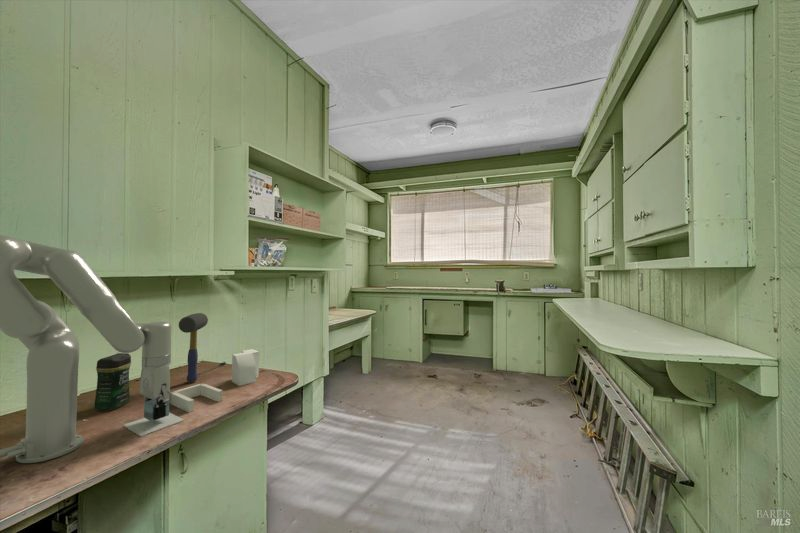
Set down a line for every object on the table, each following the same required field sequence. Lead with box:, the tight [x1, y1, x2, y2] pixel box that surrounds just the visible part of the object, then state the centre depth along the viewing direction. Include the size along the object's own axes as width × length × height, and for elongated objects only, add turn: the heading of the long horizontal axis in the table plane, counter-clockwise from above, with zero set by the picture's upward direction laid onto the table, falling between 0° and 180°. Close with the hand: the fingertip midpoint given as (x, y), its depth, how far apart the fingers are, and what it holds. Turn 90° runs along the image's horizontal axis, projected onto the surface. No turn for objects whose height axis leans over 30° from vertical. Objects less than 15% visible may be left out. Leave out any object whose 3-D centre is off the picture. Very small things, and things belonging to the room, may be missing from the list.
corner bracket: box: [231, 348, 260, 387], centre depth 146 cm, size 11×11×12 cm
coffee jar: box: [93, 352, 132, 412], centre depth 116 cm, size 10×8×19 cm
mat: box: [123, 411, 185, 438], centre depth 104 cm, size 12×12×1 cm
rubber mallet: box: [178, 312, 209, 384], centre depth 141 cm, size 12×8×30 cm, turn 8°
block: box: [143, 398, 170, 421], centre depth 105 cm, size 5×5×5 cm
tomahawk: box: [197, 361, 227, 377], centre depth 157 cm, size 21×7×1 cm, turn 165°
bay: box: [168, 382, 223, 413], centre depth 121 cm, size 12×14×4 cm
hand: (155, 415), depth 105 cm, fingers closed on block, 5 cm apart
